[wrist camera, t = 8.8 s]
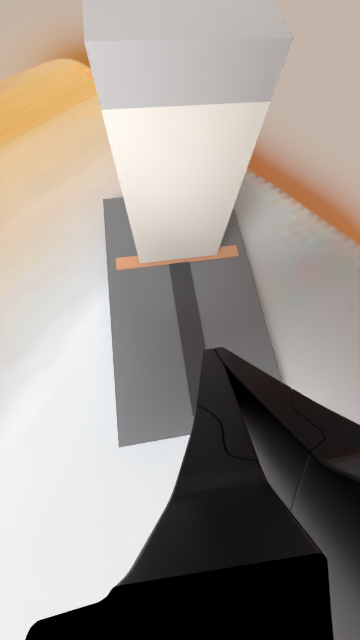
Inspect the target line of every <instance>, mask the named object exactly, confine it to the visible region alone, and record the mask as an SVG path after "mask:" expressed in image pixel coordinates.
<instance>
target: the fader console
mask: <svg viewBox="0 0 360 640" xmlns="http://www.w3.org/2000/svg"><path fill="white" fill-rule="evenodd" d="M103 205H104V221H105V236H106V252H107V268H108V284H109V299H110V315H111V331H112V347H113V363H114V378H115V394H116V410H117V426H118V441H119V447H124V446H129V445H135V444H140V443H146V442H151V441H157V440H162V439H168V438H173V437H179V436H184V435H190V434H191V430H192V426H193V421H194V415H195V407H196V401H197V394H198V386H199V379H200V371H201V364H202V356H203V350H204V349H211V348H212V349H214V348H218V347H224V348H226V349H227V350H229V351H231V352H232V353H234V354H236V355H237V356H239V357H241V358H242V359H244V360H246V361H247V362H249V363H251V364H252V365H254V366H256V367H257V368H259V369H261V370H262V371H264V372H266V373H267V374H269V375H271V376H272V377H274V378H276V379H277V380H279V381H281V377H280V374H279V370H278V367H277V363H276V359H275V356H274V352H273V349H272V345H271V342H270V338H269V334H268V331H267V327H266V324H265V320H264V316H263V313H262V309H261V306H260V302H259V299H258V295H257V291H256V288H255V284H254V281H253V277H252V273H251V270H250V266H249V263H248V259H247V256H246V252H245V248H244V245H243V241H242V238H241V234H240V230H239V227H238V223H237V220H236V216H235V213H234V209H233V210H232V213H231V216H230V218H229V221H228V224H227V227H226V230H225V233H224V236H223V238H222V241H221V244H220V247H219V250H218V253H217V255H212V256H203V257H194V258H185V259H176V260H167V261H158V262H149V263H140V262H139V258H138V254H137V250H136V246H135V242H134V238H133V234H132V230H131V226H130V222H129V218H128V214H127V210H126V206H125V202H124V198H112V199H103ZM281 382H282V381H281Z"/></svg>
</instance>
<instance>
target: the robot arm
mask: <svg viewBox="0 0 360 640" xmlns="http://www.w3.org/2000/svg"><path fill="white" fill-rule="evenodd" d="M25 640H360V425H359V424H357V423H355V422H353V421H351V420H349V419H347V418H345V417H343V416H341V415H339V414H337V413H335V412H333V411H331V410H329V409H327V408H326V407H324V406H322V405H320V404H318V403H316V402H315V401H313V400H311V399H309V398H308V397H306V396H304V395H302V394H301V393H299V392H297V391H296V390H294V389H292V388H291V387H289V386H287V385H286V384H284V383H282V382H281V381H279V380H277V379H276V378H274V377H272V376H271V375H269V374H267V373H266V372H264V371H262V370H261V369H259V368H257V367H256V366H254V365H252V364H251V363H249V362H247V361H246V360H244V359H242V358H241V357H239V356H237V355H236V354H234V353H232V352H231V351H229V350H227V349H226V348H224V347H218V348H214V349H212V348H211V349H204V350H203V356H202V364H201V371H200V379H199V386H198V394H197V401H196V407H195V415H194V421H193V426H192V430H191V434H190V438H189V442H188V445H187V448H186V452H185V455H184V458H183V462H182V465H181V468H180V471H179V475H178V478H177V481H176V484H175V487H174V490H173V493H172V495H171V498H170V500H169V502H168V504H167V506H166V508H165V510H164V511H163V513H162V515H161V517H160V519H159V520H158V522H157V524H156V526H155V527H154V529H153V531H152V533H151V534H150V536H149V538H148V540H147V541H146V543H145V545H144V547H143V548H142V550H141V552H140V554H139V555H138V557H137V559H136V561H135V562H134V564H133V566H132V568H131V569H130V570H129V572H128V573H127V575H126V576H125V577H124V578H123V579H122V580H121V581H120V582H119V583H118V584H117V585H116V586H115V587H114V588H112V590H111V591H110V593H109V594H108V596H107V597H106V598H104V599H103V600H101V601H100V602H98V603H95V604H91V605H88V606H85V607H82V608H78V609H75V610H72V611H68V612H65V613H62V614H59V615H55V616H52V617H49V618H45V619H42V620H39V621H37V622H36V623H35V624H34V625H33V626H32V627H31V628H30V630H29V632H28V634H27V636H26V639H25Z"/></svg>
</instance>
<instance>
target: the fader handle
mask: <svg viewBox="0 0 360 640" xmlns="http://www.w3.org/2000/svg"><path fill="white" fill-rule="evenodd" d="M83 21H84V22H83V24H84V42H85V47H86V51H87V55H88V59H89V63H90V67H91V71H92V75H93V79H94V83H95V87H96V90H97V94H98V98H99V102H100V106H101V110H102V114H103V118H104V122H105V126H106V130H107V134H108V138H109V142H110V146H111V150H112V154H113V158H114V162H115V166H116V170H117V174H118V178H119V182H120V186H121V190H122V194H123V198H124V202H125V206H126V210H127V214H128V218H129V222H130V226H131V230H132V234H133V238H134V242H135V246H136V250H137V254H138V258H139V262H140V263H149V262H158V261H167V260H176V259H185V258H194V257H203V256H212V255H217V253H218V250H219V247H220V244H221V241H222V238H223V236H224V233H225V230H226V227H227V224H228V221H229V218H230V216H231V213H232V210H233V207H234V204H235V201H236V199H237V196H238V193H239V190H240V187H241V184H242V181H243V179H244V176H245V173H246V170H247V167H248V164H249V162H250V158H251V156H252V153H253V150H254V147H255V145H256V141H257V139H258V136H259V133H260V130H261V127H262V125H263V122H264V119H265V116H266V113H267V110H268V108H269V105H270V102H271V99H272V96H273V93H274V90H275V87H276V85H277V82H278V79H279V76H280V73H281V71H282V68H283V65H284V62H285V59H286V56H287V53H288V51H289V48H290V45H291V42H292V39H293V35H292V33H291V32H290V30H289V28H288V26H287V24H286V22H285V20H284V18H283V16H282V14H281V12H280V11H279V9H278V7H277V5H276V3H275V1H274V0H83Z"/></svg>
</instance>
